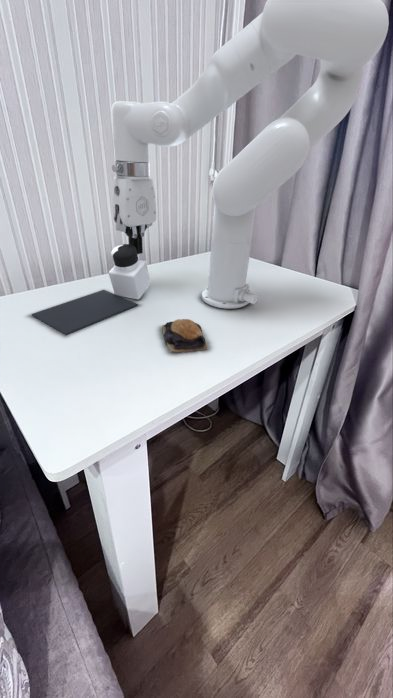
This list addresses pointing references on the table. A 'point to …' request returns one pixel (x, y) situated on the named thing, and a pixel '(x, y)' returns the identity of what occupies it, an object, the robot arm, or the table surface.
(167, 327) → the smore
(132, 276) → the medicine bottle
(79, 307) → the mat
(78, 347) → the table surface
